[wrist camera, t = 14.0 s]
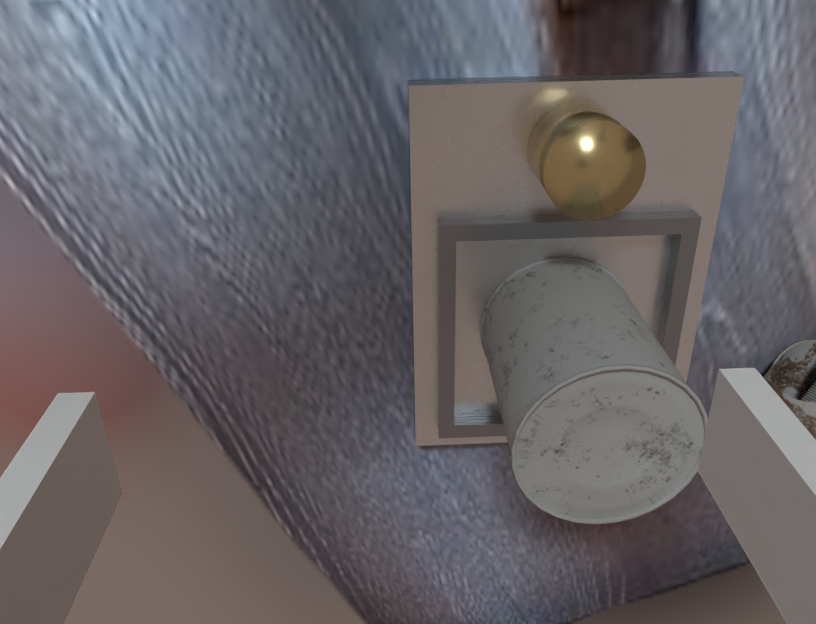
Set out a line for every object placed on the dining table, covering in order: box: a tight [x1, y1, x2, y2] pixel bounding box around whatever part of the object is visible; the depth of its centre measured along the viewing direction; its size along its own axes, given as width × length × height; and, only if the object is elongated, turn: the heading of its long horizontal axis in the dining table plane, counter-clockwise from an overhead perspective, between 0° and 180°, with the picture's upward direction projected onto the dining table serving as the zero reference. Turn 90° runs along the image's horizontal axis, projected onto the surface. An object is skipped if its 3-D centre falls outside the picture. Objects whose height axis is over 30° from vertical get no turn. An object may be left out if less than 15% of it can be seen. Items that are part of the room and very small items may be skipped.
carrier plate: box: [408, 71, 744, 446], centre depth 43 cm, size 24×18×6 cm
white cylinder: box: [480, 257, 708, 524], centre depth 41 cm, size 10×10×12 cm
